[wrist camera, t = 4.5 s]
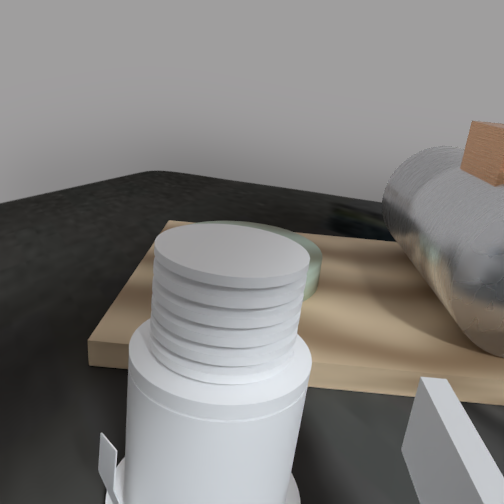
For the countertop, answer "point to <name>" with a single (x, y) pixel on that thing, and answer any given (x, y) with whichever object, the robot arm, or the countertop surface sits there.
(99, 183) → the countertop surface
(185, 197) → the countertop surface
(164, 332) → the downlight
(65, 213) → the countertop surface
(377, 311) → the mounting board
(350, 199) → the countertop surface
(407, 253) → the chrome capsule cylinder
